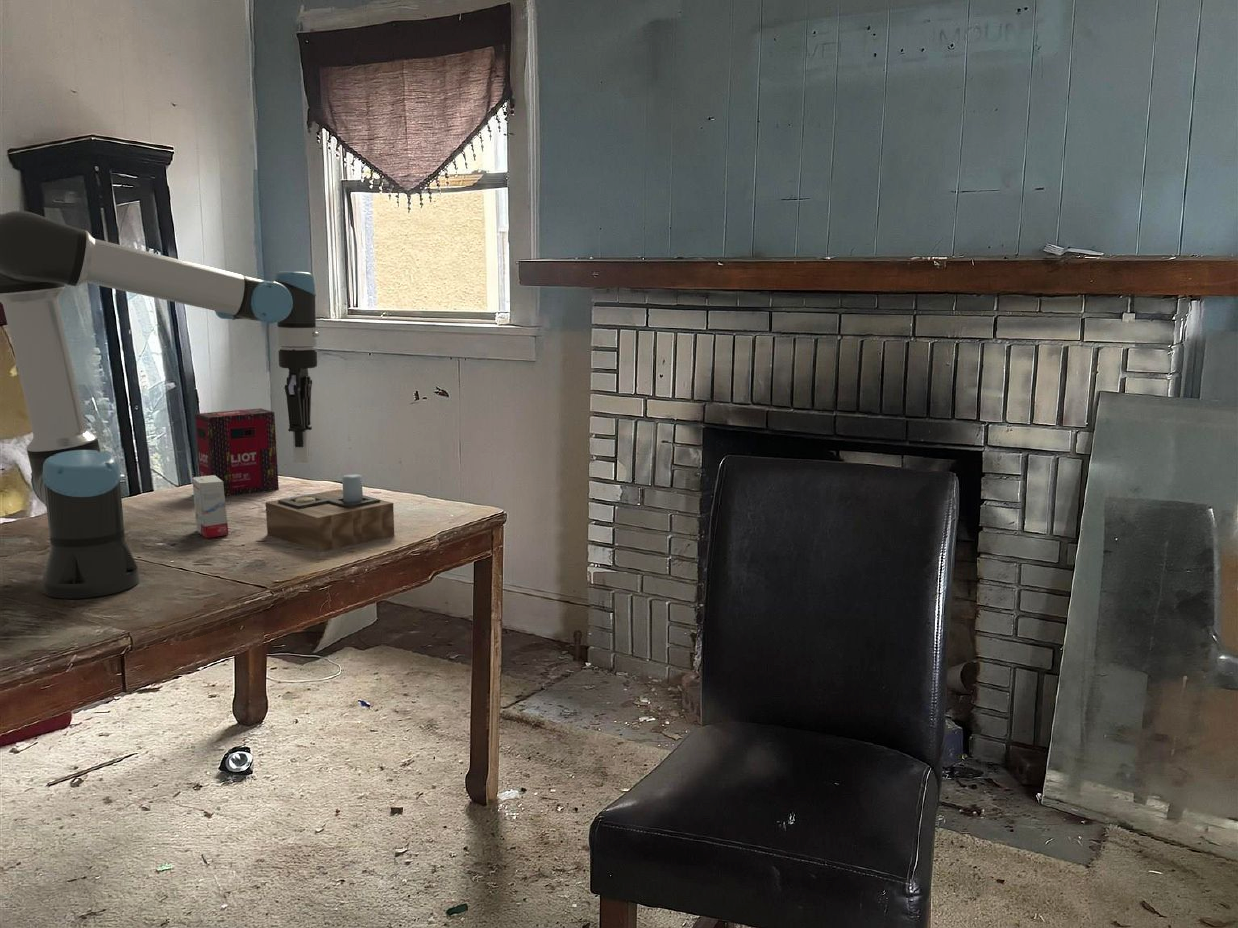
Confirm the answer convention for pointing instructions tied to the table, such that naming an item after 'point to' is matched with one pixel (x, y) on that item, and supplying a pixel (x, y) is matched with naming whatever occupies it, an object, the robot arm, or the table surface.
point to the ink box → (210, 506)
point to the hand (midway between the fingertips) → (301, 461)
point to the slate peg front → (352, 488)
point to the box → (238, 449)
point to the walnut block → (329, 520)
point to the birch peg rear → (305, 500)
